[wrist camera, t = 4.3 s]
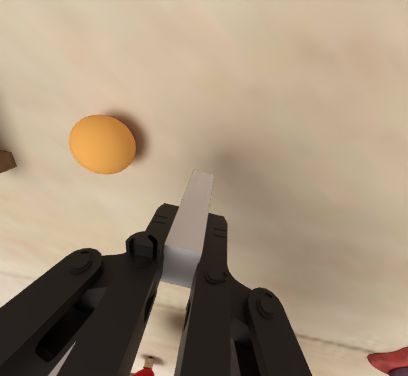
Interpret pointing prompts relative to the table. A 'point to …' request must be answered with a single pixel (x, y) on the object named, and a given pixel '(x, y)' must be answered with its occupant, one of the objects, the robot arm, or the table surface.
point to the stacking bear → (391, 362)
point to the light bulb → (146, 368)
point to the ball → (102, 144)
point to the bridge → (6, 161)
